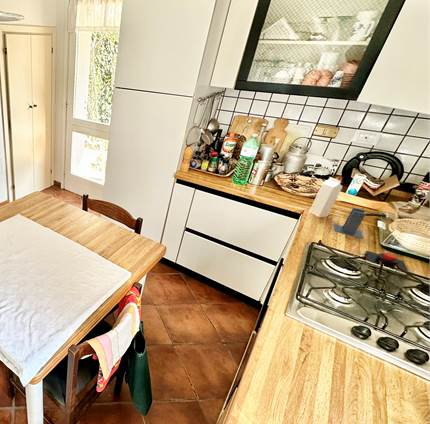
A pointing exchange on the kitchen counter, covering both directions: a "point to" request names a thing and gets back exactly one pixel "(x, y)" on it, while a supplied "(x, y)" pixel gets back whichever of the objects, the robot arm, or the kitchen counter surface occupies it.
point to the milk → (326, 197)
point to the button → (389, 256)
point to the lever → (378, 215)
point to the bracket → (352, 224)
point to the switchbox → (385, 260)
